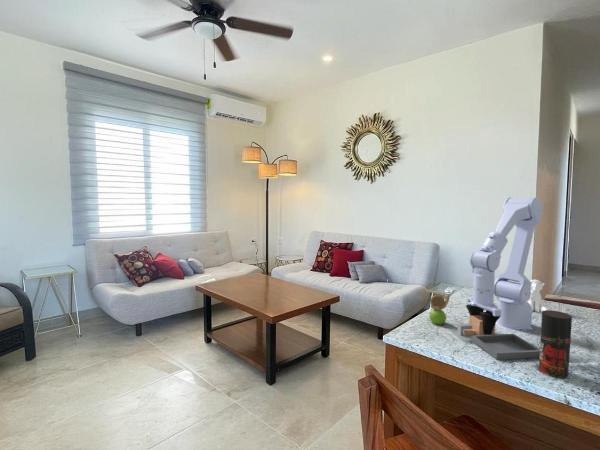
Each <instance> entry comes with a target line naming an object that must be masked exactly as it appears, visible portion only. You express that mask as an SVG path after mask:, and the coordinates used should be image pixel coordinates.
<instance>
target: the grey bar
mask: <svg viewBox="0 0 600 450" xmlns="http://www.w3.org/2000/svg"><path fill="white" fill-rule="evenodd" d="M457 329H458V330H457V333H458V334H459V335H460V336H462V335H463V329H472V325H470V324H469V323H458V324H457Z"/></svg>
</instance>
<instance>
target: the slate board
mask: <svg viewBox="0 0 600 450" xmlns="http://www.w3.org/2000/svg"><path fill="white" fill-rule="evenodd" d="M447 330H448V331H449V332H450V333H452V334H453V335H455V336H456V337H457V338H458V339H459V340H461V341H463V342H465V341H466V342H467V341H471V336H473V335H464V334H463V335H462V336H460V335H459V334H458V333H457V330H458V328H447ZM463 330H467V329H463ZM497 334H498V333H497V332H496V331H495V335H497Z"/></svg>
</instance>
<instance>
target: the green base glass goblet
mask: <svg viewBox="0 0 600 450" xmlns="http://www.w3.org/2000/svg"><path fill="white" fill-rule="evenodd" d="M447 292H448V293H447V294H445V298H444V297H443V296H442V295H439V294H435V295H433V296H431V298H430V304H431V305H430V308H431V311H430V312H429V320H430V322H431V323H432V324H434V325H438V326H440V325H444V324H445V322H447V314H446V312H445V311H444V309H446V308H447V306H448V304H449V301H450V297H451V294H450V293H451V291H450V290H448V291H447Z"/></svg>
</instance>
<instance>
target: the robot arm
mask: <svg viewBox="0 0 600 450" xmlns="http://www.w3.org/2000/svg"><path fill="white" fill-rule="evenodd" d="M501 209H502V216H501V218H500V220H499V222H498V224H497V227H496V228H495V231H492V232H489V234H488V235H487V237H486V238H485V240H484V241H483V242H482V245H481V247H480V248H479V250H476V251H474V252H472V254H471V258H470V259H469V262H470V263H469V264H470V266H471V271H472V273H473V287H472V291H473V292H472V295H466V302H467V303H469V304H466V305H465V307H466V309H467V310H468V313H469V317H470V316H475V315H481V318H482V322H483V332H484V334H485V335H490V334H491V333H492V331H493V328H494V325H495V326H496V325H497V326H499V327H500V328H502V329H504V330H507V331H511V330H515V331H517V330H533V329H534V328H533V327H532V323H533V322H532V321H533V320H532V319H533V312H532V308H531V306H530V304H529V303H528V302H527V301H528V300H529V298H530V296H531V282H530V281H531V280H530V279H529V278H528V277H527V276H526V275H525V270H526V266H527V261H528V257H529V253H530V249H531V245H532V241H533V240H532V239H533V236H534V232H535V229H536V226H537V225H539V224H540V221H541V218H542V215H543V204H542V201H541V199H540V198H539V197H507V198H506V199H504V202H503V204H502V208H501ZM514 227H516V228H515V233H514V236H513V240H512V244H511V248H510V253H509V256H508V261H507V265H506V270H504V271H503V272H500V273H498V274H497V277H496V279H495V276H496V275H495V272H496V271H497V269H498V268H499V267H500V263H501V258H502V255H501V254H502V252H503V250H504V248H505V247H506V246H507V244H508V235H509V233H511V231H512V229H513V228H514ZM494 296H495V298H496V300H497V301H498V303H497V305H498V306H497V305H496V304H495V303H494V299H495V298H494Z"/></svg>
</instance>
